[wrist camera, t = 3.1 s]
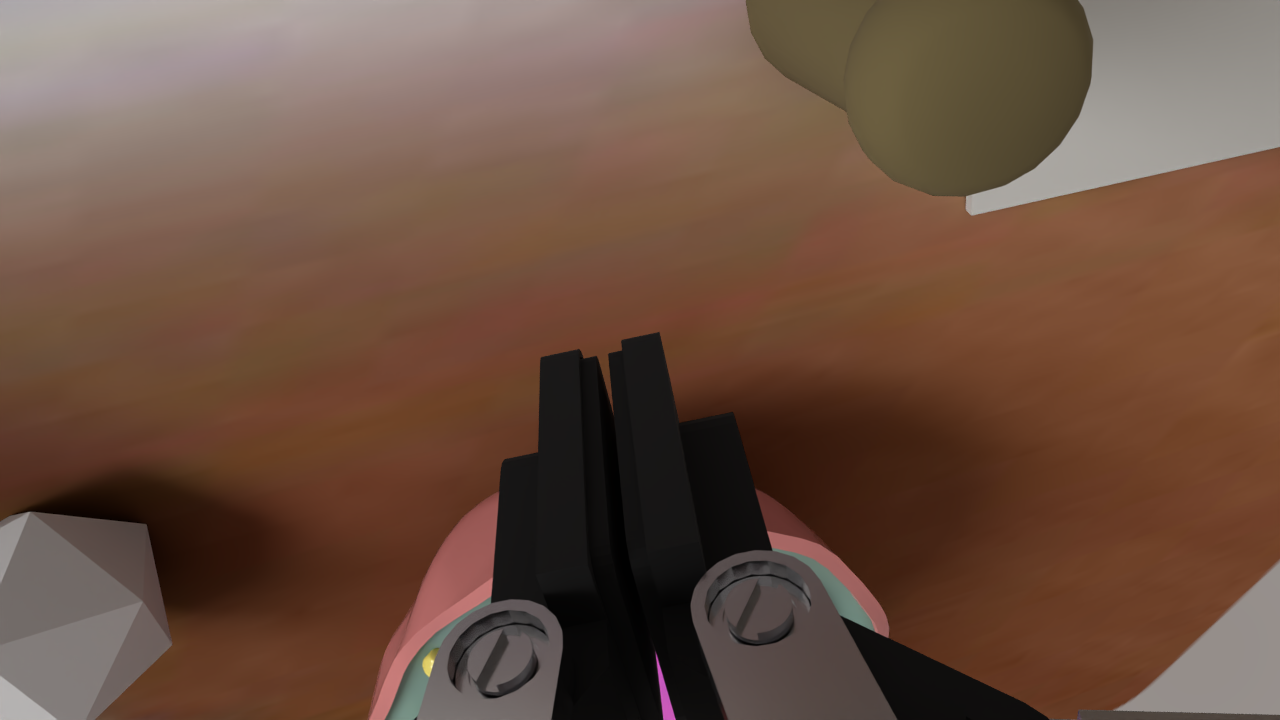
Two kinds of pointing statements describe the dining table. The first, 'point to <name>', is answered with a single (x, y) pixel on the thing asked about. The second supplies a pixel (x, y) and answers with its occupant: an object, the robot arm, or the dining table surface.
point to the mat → (1163, 96)
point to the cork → (939, 80)
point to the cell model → (467, 586)
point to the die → (75, 614)
